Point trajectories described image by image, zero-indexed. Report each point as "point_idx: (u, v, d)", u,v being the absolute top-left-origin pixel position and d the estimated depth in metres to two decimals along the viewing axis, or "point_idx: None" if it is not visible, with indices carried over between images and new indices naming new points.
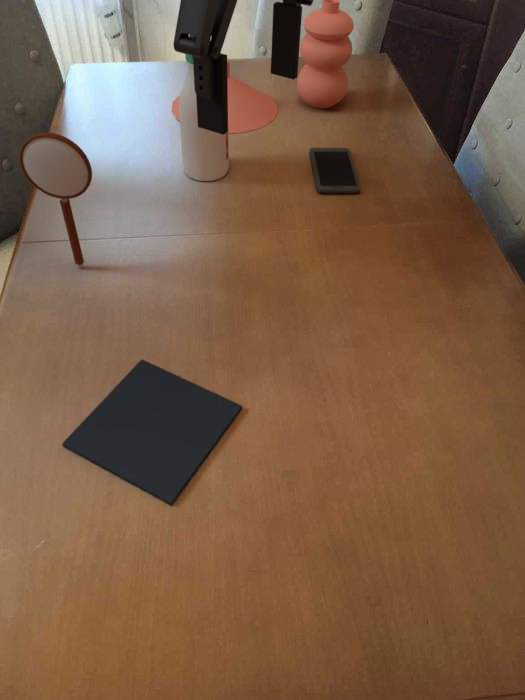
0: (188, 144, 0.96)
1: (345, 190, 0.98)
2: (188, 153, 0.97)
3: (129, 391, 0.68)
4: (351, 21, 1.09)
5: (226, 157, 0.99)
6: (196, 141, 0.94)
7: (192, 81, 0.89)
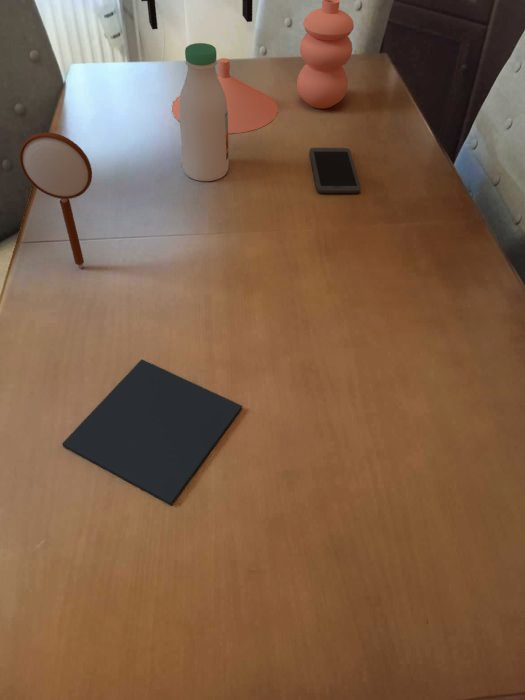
0: (188, 144, 0.96)
1: (345, 190, 0.98)
2: (188, 153, 0.97)
3: (129, 391, 0.68)
4: (351, 21, 1.09)
5: (226, 157, 0.99)
6: (196, 141, 0.94)
7: (192, 81, 0.89)
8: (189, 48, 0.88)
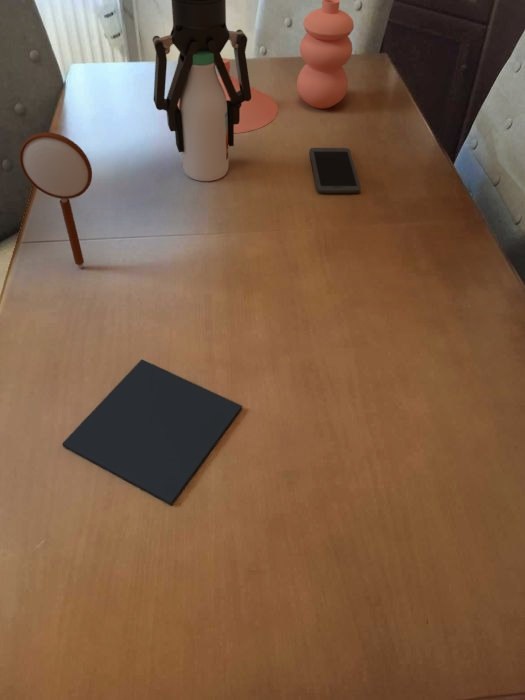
0: (188, 144, 0.96)
1: (345, 190, 0.98)
2: (188, 153, 0.97)
3: (129, 391, 0.68)
4: (351, 21, 1.09)
5: (226, 157, 0.99)
6: (196, 141, 0.94)
7: (192, 81, 0.89)
8: None
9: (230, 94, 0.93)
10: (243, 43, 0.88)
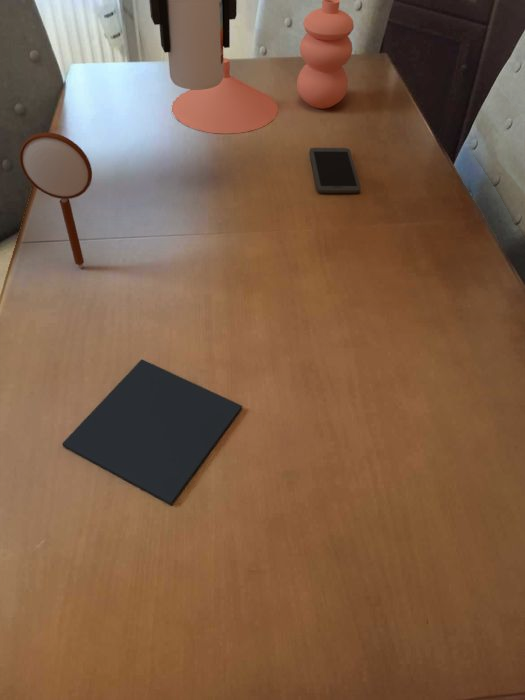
0: (175, 41, 0.80)
1: (345, 190, 0.98)
2: (175, 53, 0.81)
3: (129, 391, 0.68)
4: (351, 21, 1.09)
5: (221, 61, 0.84)
6: (185, 36, 0.79)
7: None
8: None
9: None
10: None
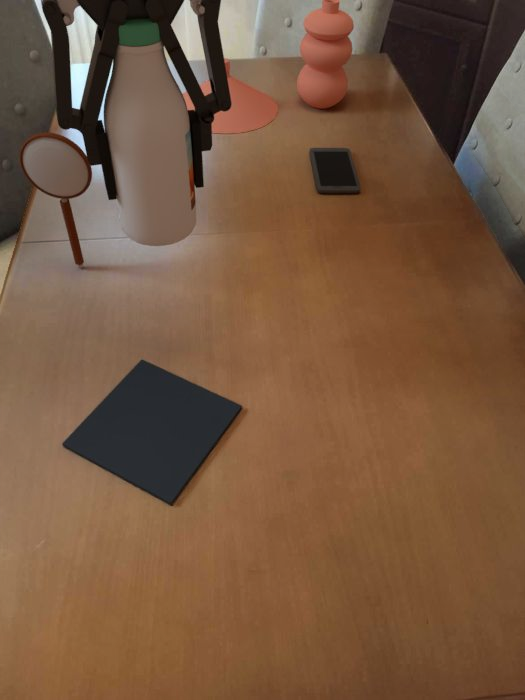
0: (123, 187, 0.55)
1: (345, 190, 0.98)
2: (124, 201, 0.56)
3: (129, 391, 0.68)
4: (351, 21, 1.09)
5: (191, 206, 0.58)
6: (136, 182, 0.54)
7: (122, 77, 0.49)
8: None
9: (194, 99, 0.52)
10: (214, 5, 0.47)
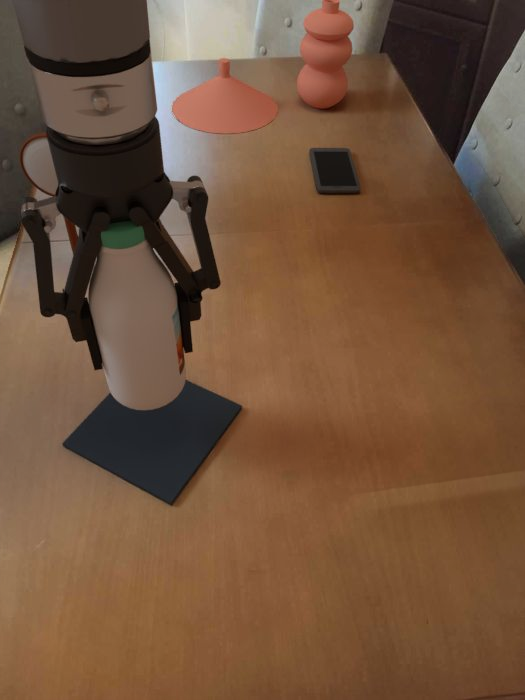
0: (109, 362, 0.53)
1: (345, 190, 0.98)
2: (109, 372, 0.55)
3: None
4: (351, 21, 1.09)
5: (180, 371, 0.57)
6: (122, 361, 0.52)
7: (105, 271, 0.47)
8: None
9: (181, 282, 0.51)
10: (201, 204, 0.46)
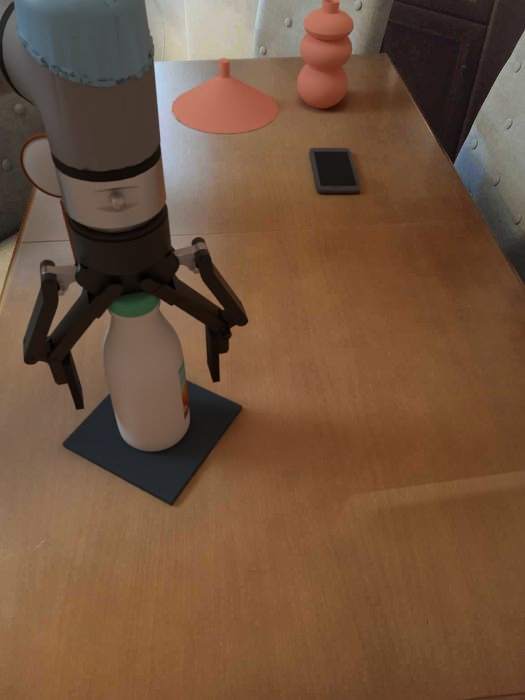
0: (120, 411, 0.59)
1: (345, 190, 0.98)
2: (121, 419, 0.60)
3: None
4: (351, 21, 1.09)
5: (184, 416, 0.62)
6: (132, 411, 0.57)
7: (119, 335, 0.52)
8: None
9: (209, 324, 0.55)
10: (206, 264, 0.50)
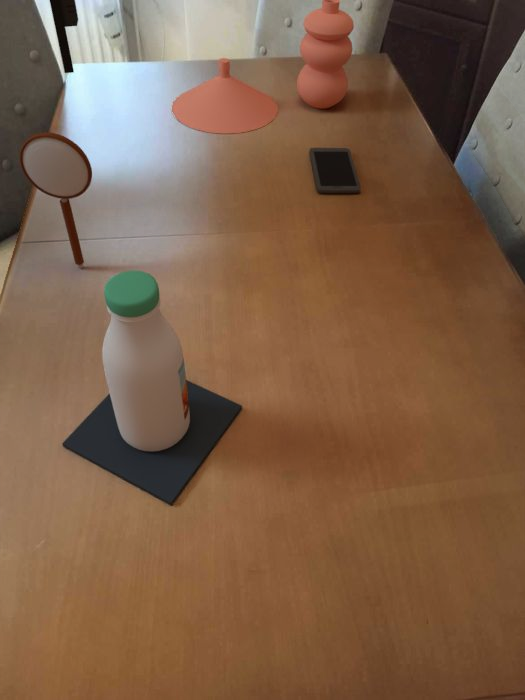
0: (120, 411, 0.59)
1: (345, 190, 0.98)
2: (121, 419, 0.60)
3: None
4: (351, 21, 1.09)
5: (184, 416, 0.62)
6: (132, 411, 0.57)
7: (119, 335, 0.52)
8: (110, 287, 0.51)
9: None
10: None
